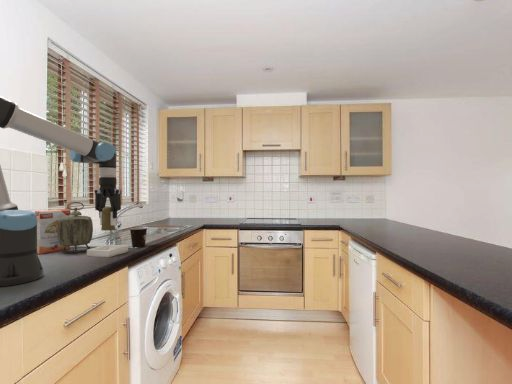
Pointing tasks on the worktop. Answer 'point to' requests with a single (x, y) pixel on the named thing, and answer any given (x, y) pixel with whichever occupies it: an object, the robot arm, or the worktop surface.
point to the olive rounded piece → (107, 219)
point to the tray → (107, 250)
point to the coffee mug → (138, 236)
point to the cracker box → (49, 230)
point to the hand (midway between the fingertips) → (108, 224)
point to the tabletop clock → (75, 229)
